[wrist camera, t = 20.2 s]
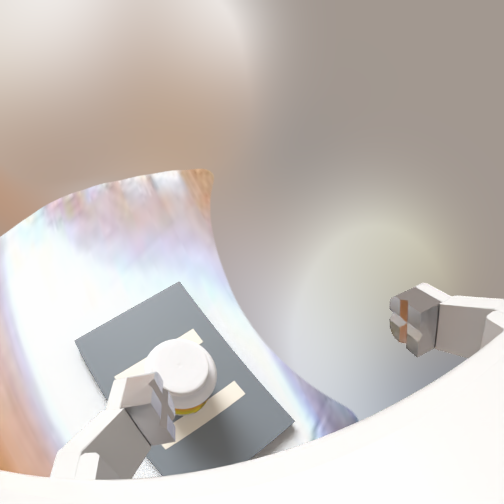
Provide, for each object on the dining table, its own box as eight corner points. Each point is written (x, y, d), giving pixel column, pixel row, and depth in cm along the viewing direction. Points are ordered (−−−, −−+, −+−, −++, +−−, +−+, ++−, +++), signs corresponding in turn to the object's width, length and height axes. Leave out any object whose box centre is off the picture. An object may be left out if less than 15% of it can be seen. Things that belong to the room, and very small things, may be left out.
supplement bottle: (205, 420, 25) (216, 412, 17) (148, 409, 25) (131, 395, 17) (212, 368, 29) (225, 335, 21) (158, 357, 28) (148, 320, 20)
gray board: (290, 422, 28) (295, 421, 27) (186, 499, 21) (186, 502, 20) (179, 287, 35) (179, 281, 34) (78, 345, 28) (74, 340, 27)
